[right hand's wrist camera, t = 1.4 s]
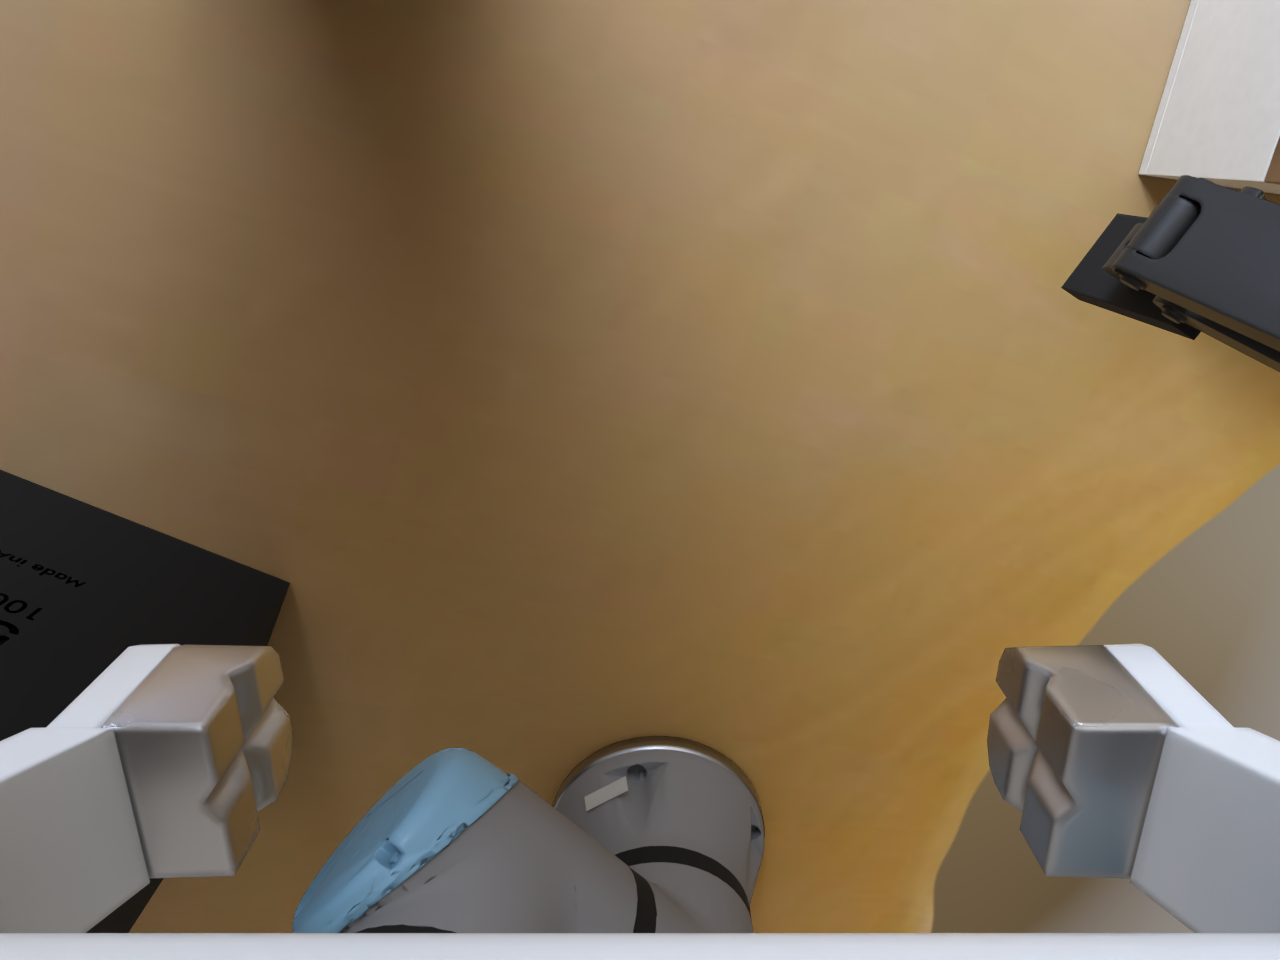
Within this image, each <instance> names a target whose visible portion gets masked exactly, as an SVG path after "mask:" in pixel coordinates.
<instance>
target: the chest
mask: <svg viewBox="0 0 1280 960" xmlns="http://www.w3.org/2000/svg"><path fill="white" fill-rule="evenodd" d="M1279 137H1280V0H1191V3H1190V7H1189V10H1188V13H1187V16H1186V20H1185V23H1184V26H1183V29H1182V33H1181V36H1180V39H1179V43H1178V46H1177V49H1176V52H1175V56H1174V59H1173V62H1172V66H1171V69H1170V72H1169V75H1168V79H1167V82H1166V85H1165V88H1164V92H1163V95H1162V98H1161V102H1160V105H1159V108H1158V111H1157V115H1156V118H1155V121H1154V125H1153V128H1152V131H1151V134H1150V138H1149V141H1148V144H1147V147H1146V151H1145V154H1144V157H1143V161H1142V164H1141V167H1140V170H1139V175H1146V176H1153V177H1160V178H1167V179H1174V180H1178V179H1179V178H1180V176H1181V175H1189V176H1192V177H1196V178H1205V179H1207V180H1210V181H1212V182H1213V183H1215V184H1217V185H1220V186H1224V187H1231V188H1238V189H1242V188H1243V187H1246V186H1247V187H1254V188H1257V189H1260V190H1263V192H1267V193H1274V194H1280V185H1279V184H1272V183H1266V182H1264V180H1265V177H1266V174H1267V171H1268V168H1269V165H1270V163H1271V160H1272V157H1273V154H1274V151H1275V148H1276V145H1277V143H1278V140H1279Z"/></svg>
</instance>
